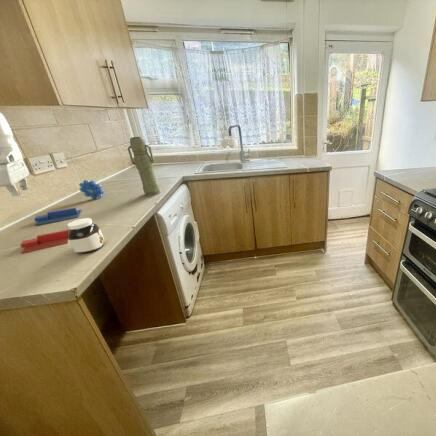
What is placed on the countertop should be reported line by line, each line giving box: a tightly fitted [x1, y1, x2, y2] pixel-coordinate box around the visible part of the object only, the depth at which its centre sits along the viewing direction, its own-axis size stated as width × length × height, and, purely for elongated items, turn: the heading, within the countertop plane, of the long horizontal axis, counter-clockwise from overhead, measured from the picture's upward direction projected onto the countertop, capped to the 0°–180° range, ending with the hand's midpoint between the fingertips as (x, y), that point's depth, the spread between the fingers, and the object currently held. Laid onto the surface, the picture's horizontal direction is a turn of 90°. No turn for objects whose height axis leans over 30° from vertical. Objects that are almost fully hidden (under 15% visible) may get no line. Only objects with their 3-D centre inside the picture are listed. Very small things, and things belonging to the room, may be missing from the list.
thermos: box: [127, 136, 161, 197], centre depth 147 cm, size 9×12×35 cm
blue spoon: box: [34, 207, 78, 223], centre depth 122 cm, size 16×4×3 cm, turn 122°
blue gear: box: [78, 179, 105, 200], centre depth 147 cm, size 12×7×12 cm, turn 108°
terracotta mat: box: [20, 238, 68, 255], centre depth 100 cm, size 16×12×1 cm
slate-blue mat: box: [34, 209, 83, 226], centre depth 123 cm, size 16×12×1 cm
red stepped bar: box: [19, 228, 70, 249], centre depth 98 cm, size 16×4×3 cm, turn 122°
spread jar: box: [67, 217, 105, 255], centre depth 91 cm, size 12×11×12 cm
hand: (21, 192), depth 93 cm, fingers open, 8 cm apart
